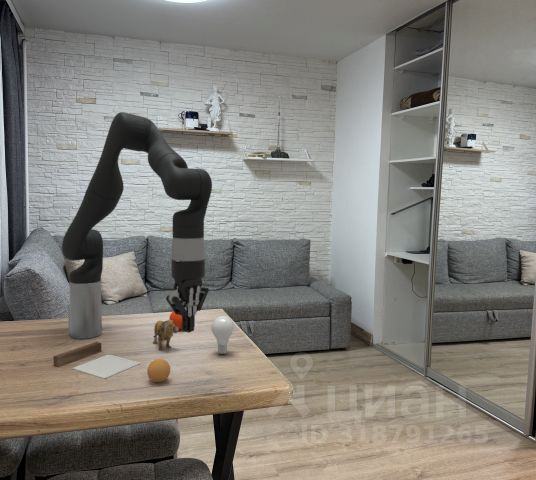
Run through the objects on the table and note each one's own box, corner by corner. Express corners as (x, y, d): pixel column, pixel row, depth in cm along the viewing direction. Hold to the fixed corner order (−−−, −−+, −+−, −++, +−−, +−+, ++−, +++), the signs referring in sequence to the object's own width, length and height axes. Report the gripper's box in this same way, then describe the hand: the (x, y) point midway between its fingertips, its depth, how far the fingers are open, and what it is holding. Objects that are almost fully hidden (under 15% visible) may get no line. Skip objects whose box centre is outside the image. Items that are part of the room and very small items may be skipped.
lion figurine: (180, 351, 137) (180, 320, 136) (163, 354, 134) (163, 323, 133) (161, 337, 149) (161, 309, 148) (145, 340, 146) (144, 311, 145)
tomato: (164, 327, 159) (164, 306, 159) (183, 324, 164) (183, 304, 163) (174, 333, 153) (174, 312, 152) (194, 330, 157) (194, 309, 156)
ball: (142, 382, 114) (142, 360, 114) (158, 375, 119) (158, 353, 119) (159, 387, 112) (159, 365, 111) (175, 379, 116) (175, 358, 116)
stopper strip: (53, 365, 124) (53, 356, 124) (96, 350, 136) (96, 341, 136) (58, 366, 123) (58, 357, 123) (101, 351, 135) (101, 342, 135)
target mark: (72, 368, 122) (72, 368, 122) (108, 355, 132) (108, 354, 132) (104, 378, 116) (104, 378, 116) (140, 363, 126) (140, 363, 126)
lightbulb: (237, 352, 137) (238, 315, 136) (226, 359, 131) (227, 320, 130) (218, 348, 139) (219, 312, 138) (207, 355, 134) (207, 317, 132)
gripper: (193, 252, 115) (193, 322, 117) (155, 259, 104) (156, 336, 106) (218, 255, 112) (218, 327, 113) (182, 262, 100) (182, 341, 102)
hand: (188, 331), depth 109 cm, fingers closed
